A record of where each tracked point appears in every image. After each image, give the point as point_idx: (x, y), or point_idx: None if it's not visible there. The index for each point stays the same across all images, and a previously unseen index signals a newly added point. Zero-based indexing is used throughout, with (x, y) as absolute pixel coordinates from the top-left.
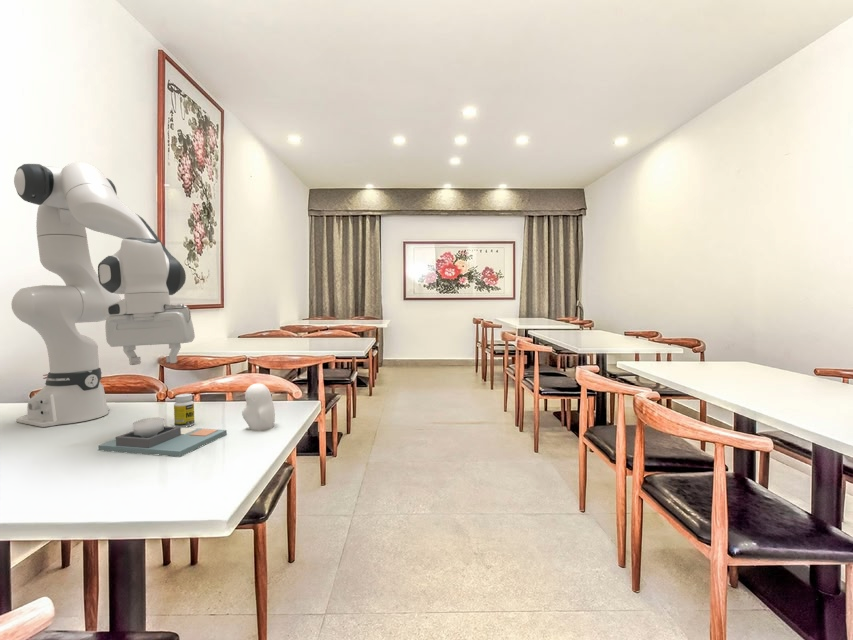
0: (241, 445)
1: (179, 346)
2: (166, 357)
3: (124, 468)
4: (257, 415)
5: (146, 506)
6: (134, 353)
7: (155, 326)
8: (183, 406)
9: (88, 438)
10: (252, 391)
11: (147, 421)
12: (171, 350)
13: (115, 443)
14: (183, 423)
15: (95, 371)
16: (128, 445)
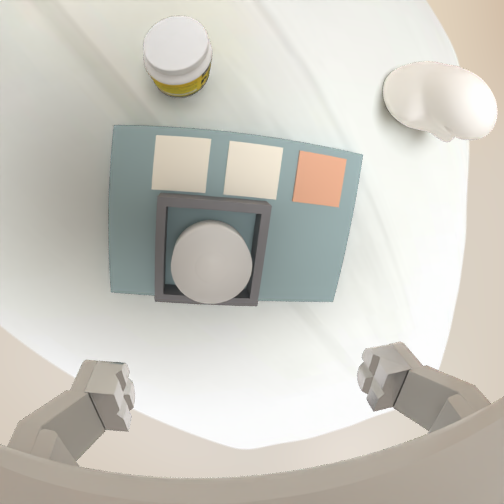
0: (411, 225)
1: (474, 399)
2: (374, 404)
3: (260, 352)
4: (436, 132)
5: (363, 407)
6: (69, 416)
7: None
8: (195, 79)
9: (15, 216)
10: (478, 137)
11: (217, 279)
12: (427, 427)
13: (140, 277)
14: (194, 92)
15: None
16: None
